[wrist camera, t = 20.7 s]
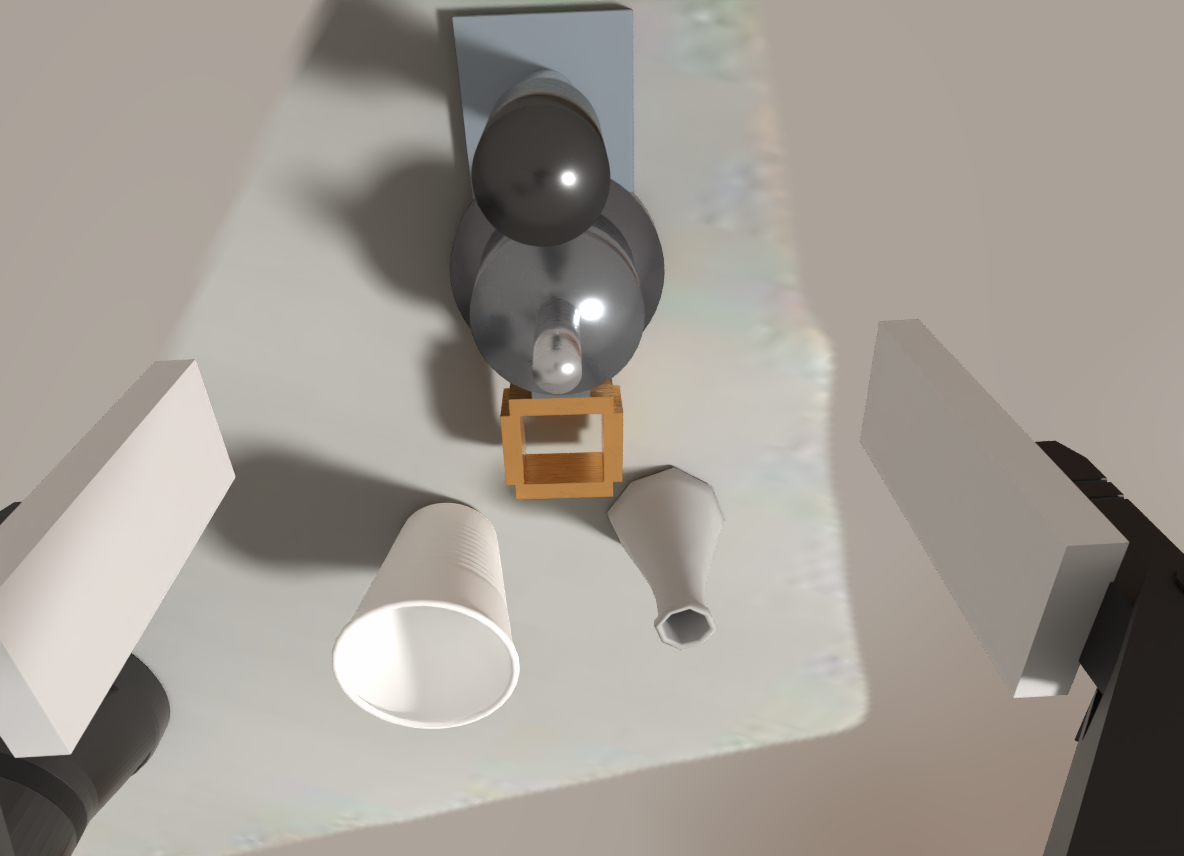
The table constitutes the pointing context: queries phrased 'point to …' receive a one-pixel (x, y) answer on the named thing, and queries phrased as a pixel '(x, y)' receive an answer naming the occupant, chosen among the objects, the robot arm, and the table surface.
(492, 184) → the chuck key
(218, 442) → the robot arm
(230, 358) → the table surface
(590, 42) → the key mat
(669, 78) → the table surface
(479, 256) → the dark grey disc
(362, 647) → the cup
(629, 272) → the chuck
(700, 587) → the flask
